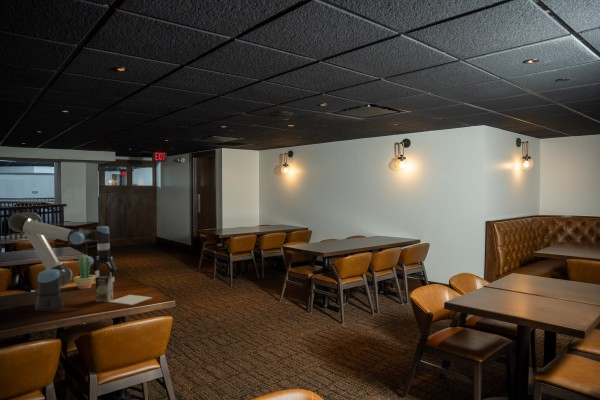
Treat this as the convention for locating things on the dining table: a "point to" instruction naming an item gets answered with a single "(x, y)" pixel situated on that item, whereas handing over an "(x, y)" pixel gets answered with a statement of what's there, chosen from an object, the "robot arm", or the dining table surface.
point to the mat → (130, 299)
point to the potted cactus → (84, 272)
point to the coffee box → (104, 289)
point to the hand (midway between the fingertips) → (104, 281)
